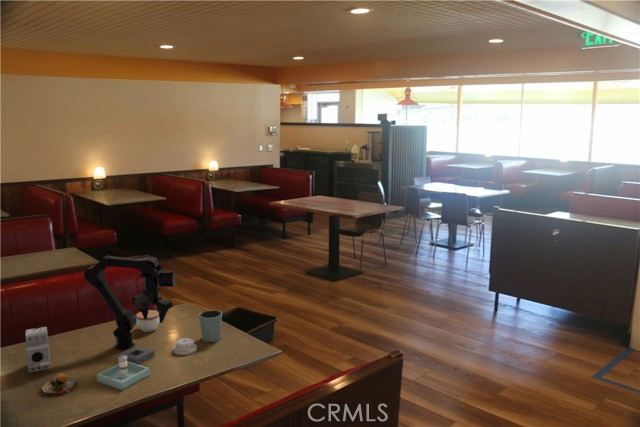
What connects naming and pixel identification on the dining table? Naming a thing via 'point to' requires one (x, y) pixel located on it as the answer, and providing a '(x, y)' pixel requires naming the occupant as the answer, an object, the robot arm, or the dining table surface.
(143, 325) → the lidded jar
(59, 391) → the plate of food
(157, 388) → the dining table surface
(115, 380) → the parts tray
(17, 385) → the dining table surface
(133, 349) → the socket block
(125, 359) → the cylinder
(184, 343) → the mechanical component
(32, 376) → the dining table surface
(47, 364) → the circuit breaker
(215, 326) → the blue-grey cup
